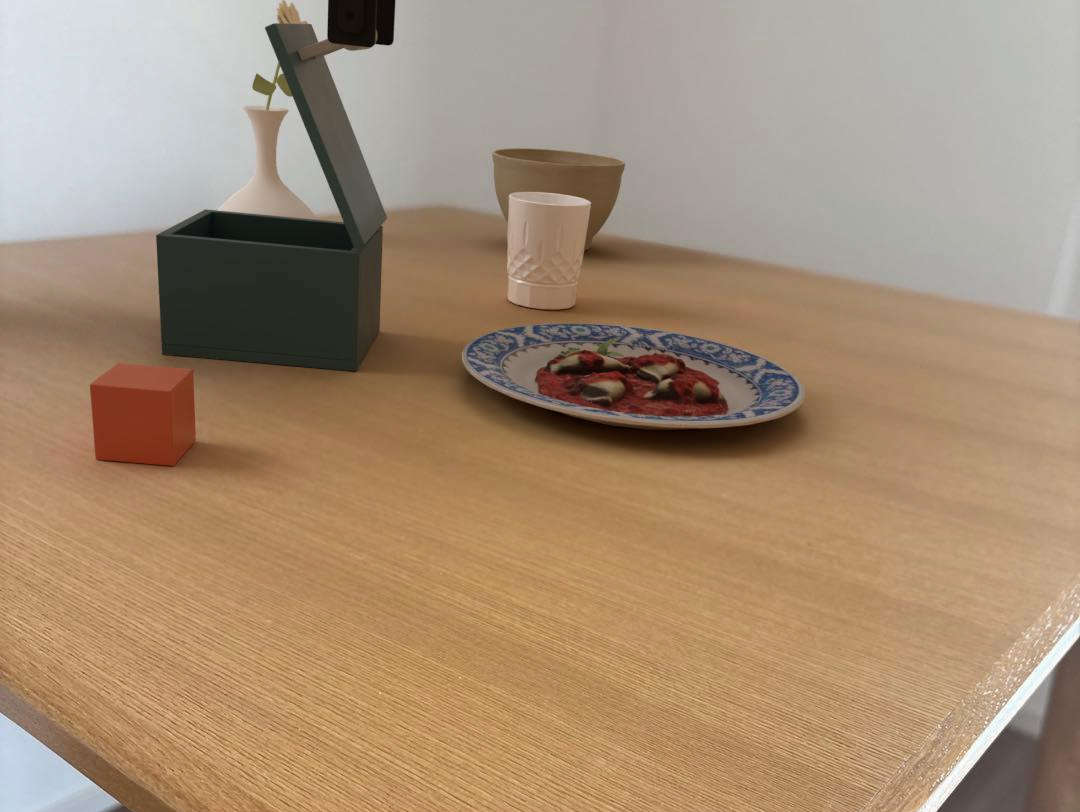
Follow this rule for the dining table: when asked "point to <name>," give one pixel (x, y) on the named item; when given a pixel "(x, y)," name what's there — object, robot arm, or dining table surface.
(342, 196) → the lid
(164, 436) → the block
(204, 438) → the dining table surface
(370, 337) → the chest
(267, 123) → the flower in vase
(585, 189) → the planter bowl
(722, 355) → the ceramic plate
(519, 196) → the white cup
